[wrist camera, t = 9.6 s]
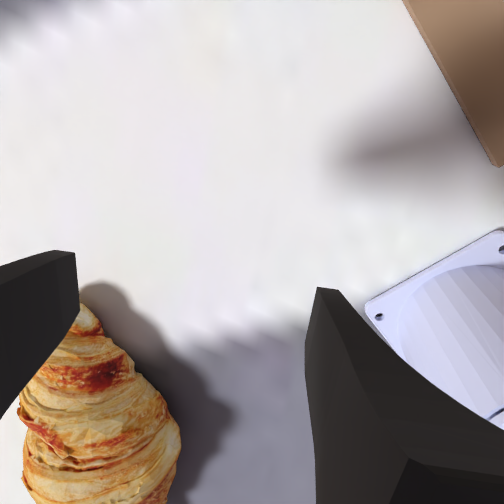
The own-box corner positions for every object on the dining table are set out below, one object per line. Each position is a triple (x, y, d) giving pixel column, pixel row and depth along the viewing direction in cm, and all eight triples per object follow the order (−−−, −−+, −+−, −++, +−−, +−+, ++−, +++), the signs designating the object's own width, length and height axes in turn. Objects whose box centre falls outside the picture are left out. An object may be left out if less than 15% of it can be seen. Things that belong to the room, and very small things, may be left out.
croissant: (58, 262, 27) (-78, 325, 21) (162, 287, 21) (18, 381, 15) (134, 473, 35) (52, 561, 29) (222, 529, 30) (144, 651, 24)
